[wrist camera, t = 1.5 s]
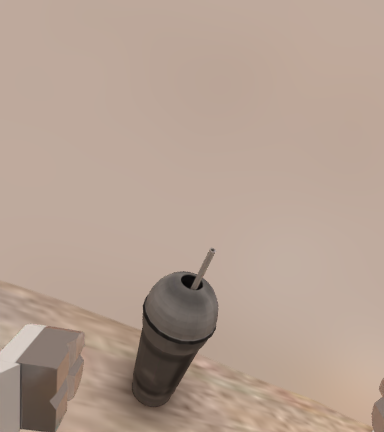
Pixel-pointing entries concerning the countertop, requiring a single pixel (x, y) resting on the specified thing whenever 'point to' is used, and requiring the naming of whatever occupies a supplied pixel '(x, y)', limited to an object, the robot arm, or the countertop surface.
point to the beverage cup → (173, 332)
